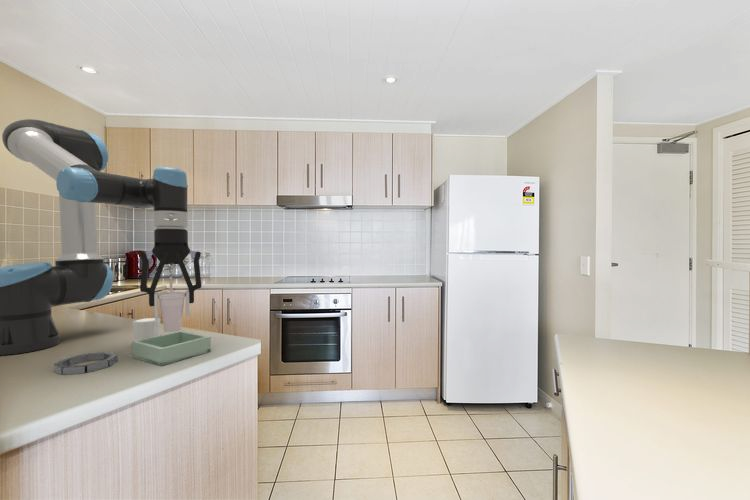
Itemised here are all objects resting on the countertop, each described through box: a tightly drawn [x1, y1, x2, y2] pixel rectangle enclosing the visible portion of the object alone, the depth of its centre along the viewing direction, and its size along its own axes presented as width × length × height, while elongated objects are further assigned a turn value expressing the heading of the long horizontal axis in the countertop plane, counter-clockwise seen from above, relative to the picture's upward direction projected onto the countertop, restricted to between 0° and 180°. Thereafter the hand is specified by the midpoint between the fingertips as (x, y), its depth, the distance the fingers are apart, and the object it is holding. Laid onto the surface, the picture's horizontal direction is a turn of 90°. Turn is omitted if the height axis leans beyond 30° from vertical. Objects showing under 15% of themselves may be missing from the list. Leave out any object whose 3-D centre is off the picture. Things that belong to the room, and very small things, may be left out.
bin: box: [131, 330, 212, 367], centre depth 91 cm, size 13×13×4 cm
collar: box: [53, 351, 118, 376], centre depth 83 cm, size 11×11×2 cm
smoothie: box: [158, 276, 186, 333], centre depth 91 cm, size 6×6×14 cm
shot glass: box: [132, 317, 162, 341], centre depth 101 cm, size 7×7×7 cm
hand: (172, 317), depth 91 cm, fingers closed on smoothie, 6 cm apart
